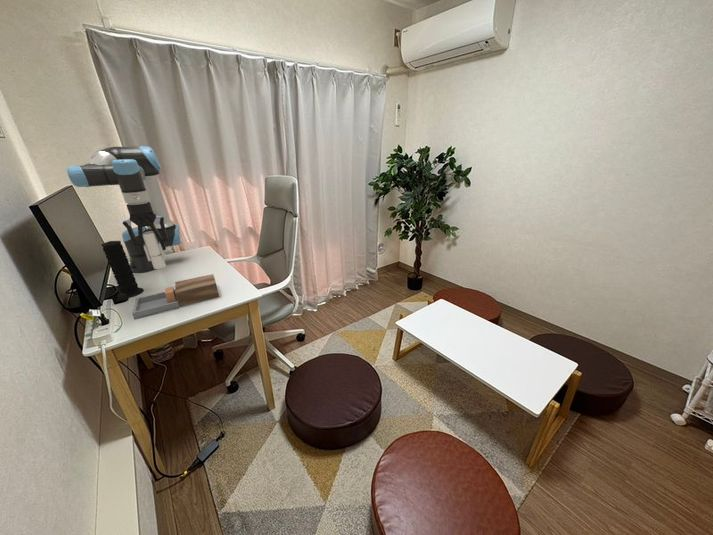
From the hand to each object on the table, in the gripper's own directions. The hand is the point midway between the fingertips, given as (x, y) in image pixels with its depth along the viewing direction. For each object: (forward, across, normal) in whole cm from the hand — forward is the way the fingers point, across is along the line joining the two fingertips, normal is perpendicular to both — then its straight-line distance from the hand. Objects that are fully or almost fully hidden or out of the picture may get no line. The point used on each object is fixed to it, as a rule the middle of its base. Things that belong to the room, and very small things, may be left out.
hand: (157, 258), depth 115 cm
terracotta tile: (+18, +2, -1) cm, 18 cm away
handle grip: (+22, -17, +20) cm, 34 cm away
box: (+21, -5, 0) cm, 22 cm away
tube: (+4, 0, 0) cm, 4 cm away
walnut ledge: (+21, +11, 0) cm, 24 cm away
